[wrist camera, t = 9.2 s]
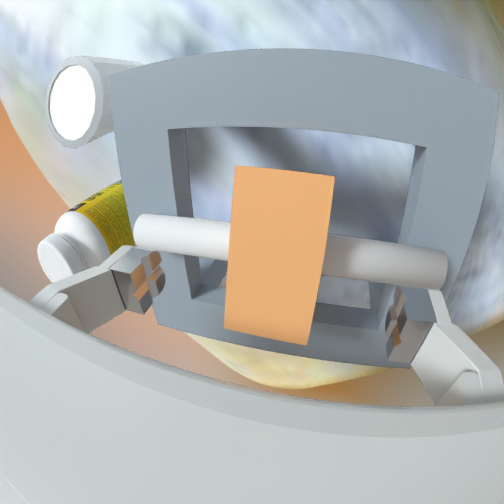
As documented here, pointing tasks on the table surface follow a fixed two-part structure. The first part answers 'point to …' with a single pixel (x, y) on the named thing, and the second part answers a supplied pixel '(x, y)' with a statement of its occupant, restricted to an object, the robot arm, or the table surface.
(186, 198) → the square frame with slider
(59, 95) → the shot glass
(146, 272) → the robot arm
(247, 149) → the table surface
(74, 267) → the pill bottle
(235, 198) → the tall tan box
